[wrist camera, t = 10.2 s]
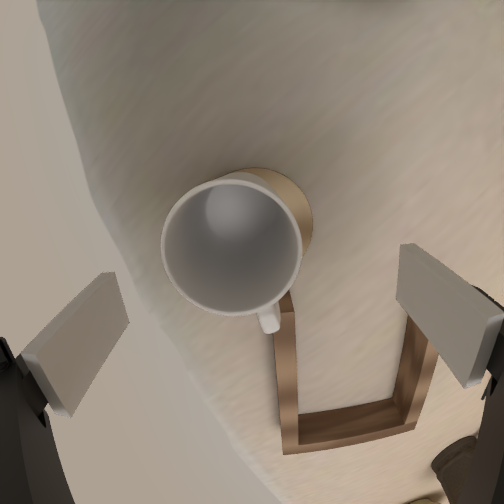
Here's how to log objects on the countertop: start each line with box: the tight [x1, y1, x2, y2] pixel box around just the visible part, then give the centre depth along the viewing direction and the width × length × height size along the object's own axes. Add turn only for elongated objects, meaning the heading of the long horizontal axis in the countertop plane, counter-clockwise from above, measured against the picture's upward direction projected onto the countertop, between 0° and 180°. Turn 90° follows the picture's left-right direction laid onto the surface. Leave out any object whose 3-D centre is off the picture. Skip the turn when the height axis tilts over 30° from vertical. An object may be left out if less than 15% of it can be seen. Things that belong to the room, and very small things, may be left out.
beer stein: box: [432, 436, 477, 504], centre depth 30 cm, size 15×11×20 cm
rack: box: [273, 290, 439, 455], centre depth 29 cm, size 20×17×5 cm
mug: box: [160, 172, 302, 334], centre depth 20 cm, size 10×7×12 cm, turn 23°
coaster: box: [232, 168, 313, 257], centre depth 26 cm, size 10×10×1 cm
